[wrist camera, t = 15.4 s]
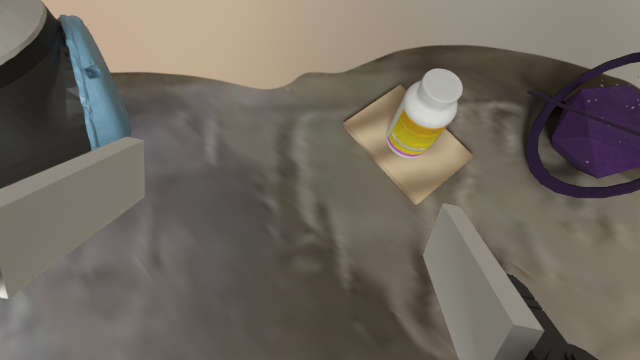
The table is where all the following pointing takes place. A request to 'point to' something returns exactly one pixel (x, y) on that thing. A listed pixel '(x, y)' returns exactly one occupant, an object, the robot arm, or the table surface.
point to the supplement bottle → (424, 113)
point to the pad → (406, 173)
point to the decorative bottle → (591, 133)
